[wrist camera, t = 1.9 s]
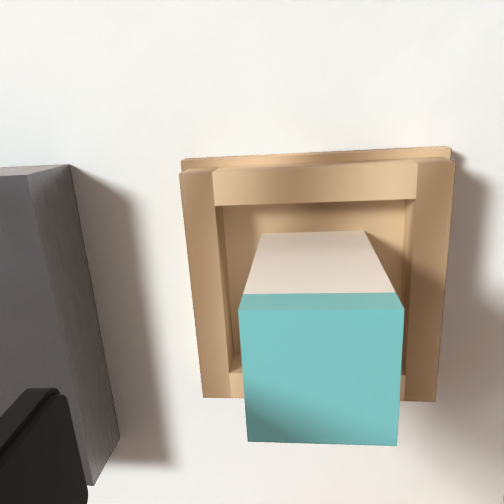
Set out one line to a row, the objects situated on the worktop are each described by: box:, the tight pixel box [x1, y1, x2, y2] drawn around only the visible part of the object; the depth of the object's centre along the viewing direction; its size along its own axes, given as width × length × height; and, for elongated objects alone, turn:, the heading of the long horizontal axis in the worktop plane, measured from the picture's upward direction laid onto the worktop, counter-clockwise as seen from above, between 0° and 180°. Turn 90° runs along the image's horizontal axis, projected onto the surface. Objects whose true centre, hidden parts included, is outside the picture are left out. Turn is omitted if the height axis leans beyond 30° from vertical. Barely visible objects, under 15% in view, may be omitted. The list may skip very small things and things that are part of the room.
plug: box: [238, 231, 404, 446], centre depth 15 cm, size 4×4×7 cm
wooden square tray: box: [179, 146, 456, 402], centre depth 17 cm, size 10×10×2 cm
